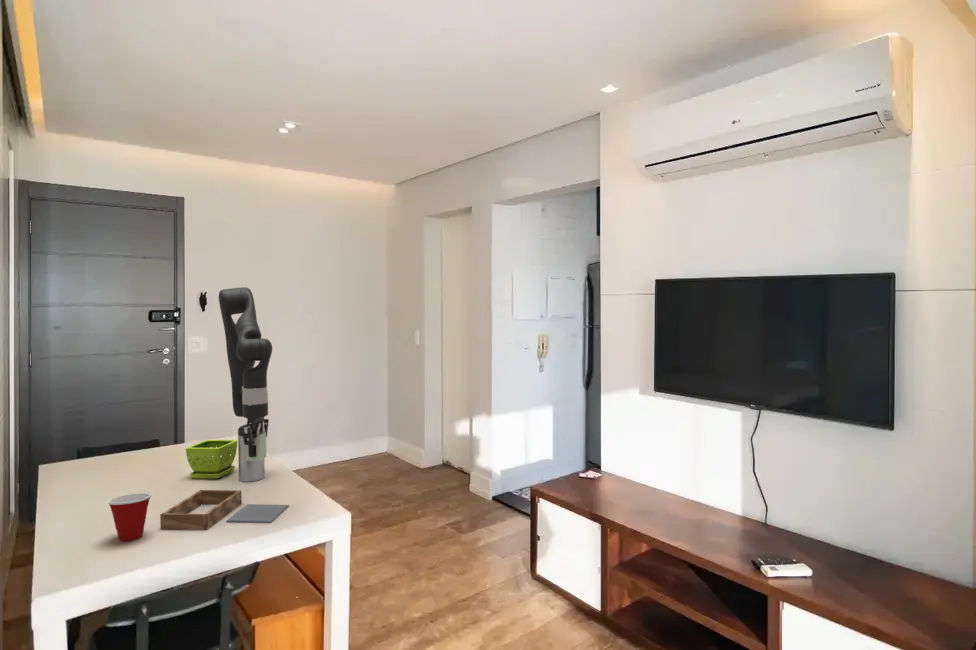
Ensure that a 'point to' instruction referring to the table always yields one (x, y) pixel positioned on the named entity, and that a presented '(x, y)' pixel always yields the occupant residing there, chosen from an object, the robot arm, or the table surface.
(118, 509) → the plastic cup
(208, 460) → the flower pot
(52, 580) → the table surface
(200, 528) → the wooden frame
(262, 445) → the sage block
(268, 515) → the slate mat
